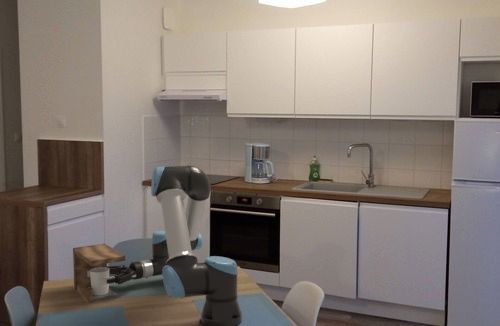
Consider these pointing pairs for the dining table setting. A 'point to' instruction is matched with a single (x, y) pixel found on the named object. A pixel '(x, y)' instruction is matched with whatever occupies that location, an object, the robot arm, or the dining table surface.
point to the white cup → (94, 276)
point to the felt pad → (109, 294)
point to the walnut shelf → (91, 265)
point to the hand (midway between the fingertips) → (92, 278)
